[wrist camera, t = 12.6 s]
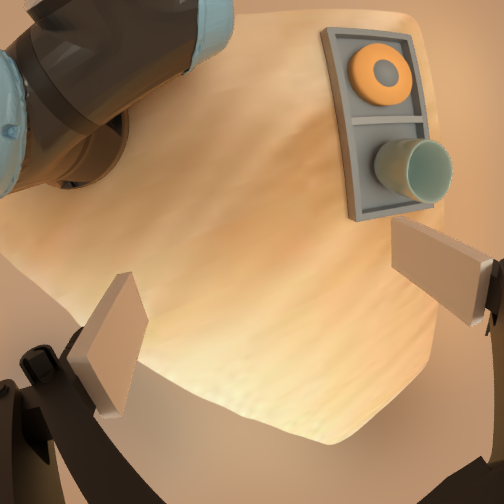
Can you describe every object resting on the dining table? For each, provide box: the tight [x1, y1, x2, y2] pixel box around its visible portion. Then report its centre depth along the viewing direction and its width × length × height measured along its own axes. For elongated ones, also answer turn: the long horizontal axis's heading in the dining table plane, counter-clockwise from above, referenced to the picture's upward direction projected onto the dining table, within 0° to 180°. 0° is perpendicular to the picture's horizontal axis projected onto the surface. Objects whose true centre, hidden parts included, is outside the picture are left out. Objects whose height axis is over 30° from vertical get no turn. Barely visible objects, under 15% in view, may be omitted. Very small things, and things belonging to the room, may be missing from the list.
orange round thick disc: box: [347, 43, 412, 107], centre depth 35 cm, size 9×9×3 cm
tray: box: [320, 27, 434, 222], centre depth 38 cm, size 27×14×2 cm, turn 10°
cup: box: [374, 138, 453, 204], centre depth 36 cm, size 8×8×10 cm
